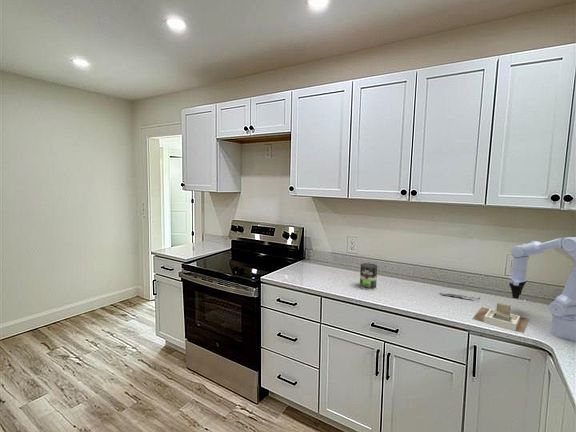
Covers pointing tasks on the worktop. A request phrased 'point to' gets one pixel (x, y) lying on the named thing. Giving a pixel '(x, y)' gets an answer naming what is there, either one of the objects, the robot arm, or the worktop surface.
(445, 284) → the worktop surface
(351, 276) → the worktop surface
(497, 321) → the cream square tray
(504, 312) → the tall bronze block
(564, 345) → the worktop surface
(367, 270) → the coffee can
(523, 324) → the board
